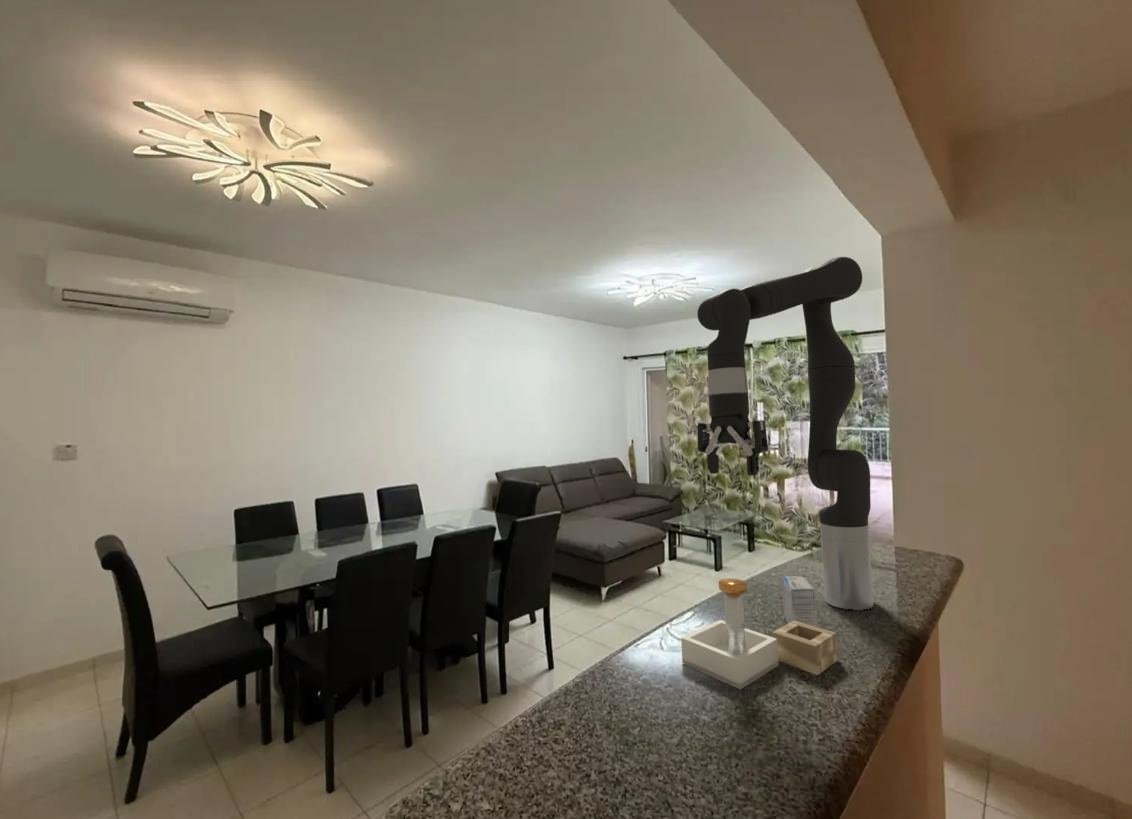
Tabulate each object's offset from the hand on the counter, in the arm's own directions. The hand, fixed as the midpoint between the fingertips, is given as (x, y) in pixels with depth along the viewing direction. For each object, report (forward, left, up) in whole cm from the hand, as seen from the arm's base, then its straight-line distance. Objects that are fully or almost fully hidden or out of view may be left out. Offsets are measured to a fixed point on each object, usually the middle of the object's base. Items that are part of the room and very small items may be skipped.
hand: (732, 474), depth 95 cm
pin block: (+3, +14, -30) cm, 33 cm away
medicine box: (-9, +7, -30) cm, 32 cm away
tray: (+14, +6, -30) cm, 34 cm away
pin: (+13, +8, -29) cm, 33 cm away
